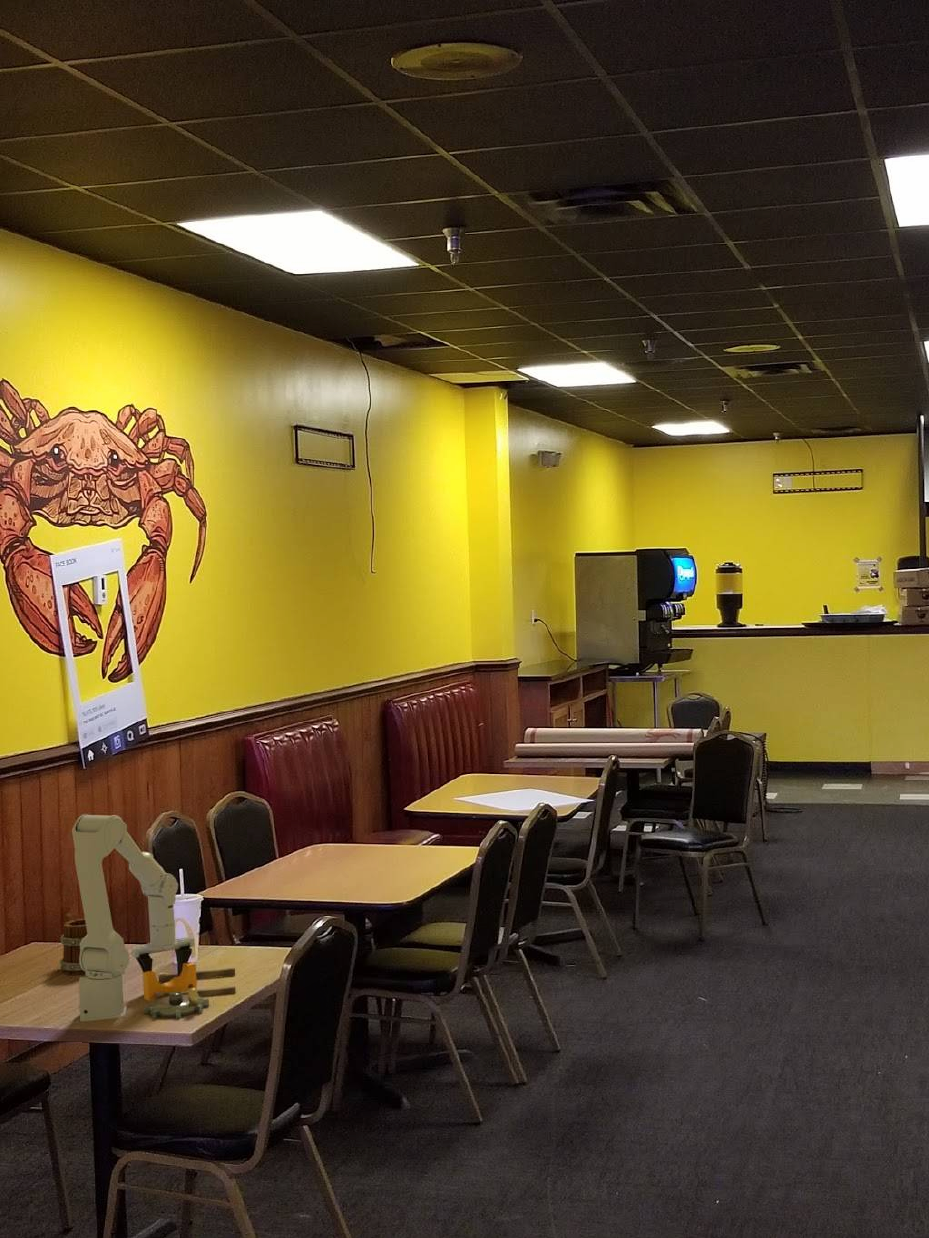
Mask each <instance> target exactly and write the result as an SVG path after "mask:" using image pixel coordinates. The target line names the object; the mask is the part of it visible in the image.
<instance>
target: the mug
mask: <svg viewBox="0 0 929 1238" xmlns="http://www.w3.org/2000/svg"><path fill="white" fill-rule="evenodd" d="M64 917H65V920H66V921H65V923H64V924H63V934H62V935H60V944H61V945H63V951H62V952H63V953H62V954H63V955H62V958H61V959H60V961H59V963H60V964H59V966H60V969H61V970H62V973H63V974H65V975H68V976H70V975H72V976H83V975H84V976H86V973H85V971H84V970H83V969H82V968H81V966H80V963H79V956H80V944H79V943H80V942H81V941H82V939H83V938H84V937H85V936H86V935H87V934H88V933H87V927H86V922H85V918H80V919H76V920H75V918H74V916H73V913H71V912H68V913H65V915H64Z"/></svg>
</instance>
